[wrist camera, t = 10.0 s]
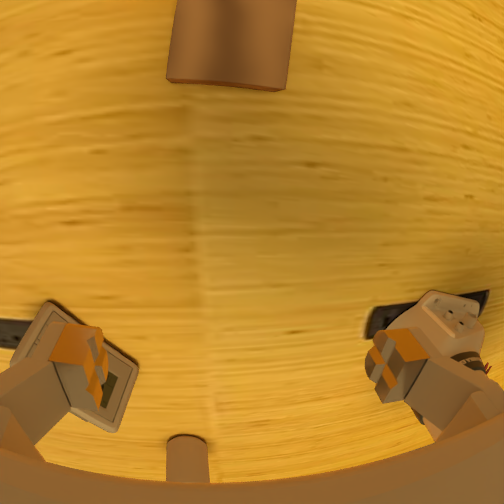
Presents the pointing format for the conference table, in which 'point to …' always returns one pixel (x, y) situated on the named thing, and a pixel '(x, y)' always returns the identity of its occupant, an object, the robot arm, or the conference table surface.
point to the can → (187, 460)
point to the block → (232, 43)
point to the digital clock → (113, 389)
